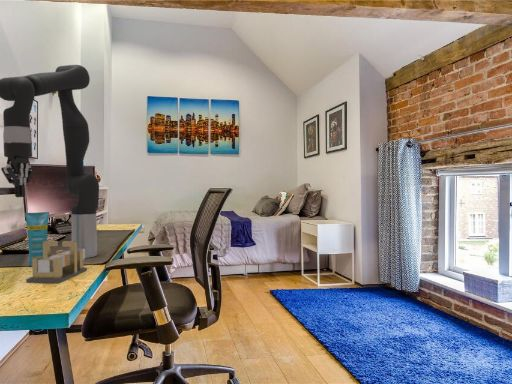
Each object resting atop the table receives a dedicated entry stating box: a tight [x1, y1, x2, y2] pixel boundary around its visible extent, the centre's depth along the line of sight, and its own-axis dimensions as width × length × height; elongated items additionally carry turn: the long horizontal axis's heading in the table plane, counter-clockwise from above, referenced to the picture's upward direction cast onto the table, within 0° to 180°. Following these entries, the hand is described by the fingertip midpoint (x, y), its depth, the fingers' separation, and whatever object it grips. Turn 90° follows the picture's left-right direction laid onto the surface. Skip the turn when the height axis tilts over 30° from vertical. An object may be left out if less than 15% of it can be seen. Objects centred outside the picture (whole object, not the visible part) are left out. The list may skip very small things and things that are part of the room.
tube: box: [24, 211, 50, 267], centre depth 135 cm, size 7×5×19 cm, turn 123°
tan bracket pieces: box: [31, 249, 84, 279], centre depth 121 cm, size 14×8×6 cm, turn 176°
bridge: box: [43, 240, 77, 273], centre depth 121 cm, size 2×10×10 cm, turn 85°
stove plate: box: [25, 267, 88, 284], centre depth 120 cm, size 16×10×1 cm, turn 176°
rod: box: [38, 249, 86, 273], centre depth 123 cm, size 20×4×4 cm, turn 175°
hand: (20, 197), depth 119 cm, fingers closed
